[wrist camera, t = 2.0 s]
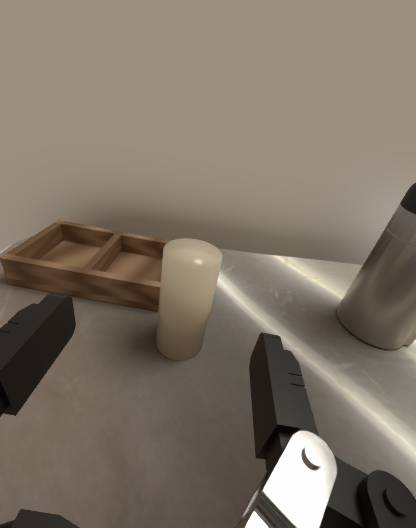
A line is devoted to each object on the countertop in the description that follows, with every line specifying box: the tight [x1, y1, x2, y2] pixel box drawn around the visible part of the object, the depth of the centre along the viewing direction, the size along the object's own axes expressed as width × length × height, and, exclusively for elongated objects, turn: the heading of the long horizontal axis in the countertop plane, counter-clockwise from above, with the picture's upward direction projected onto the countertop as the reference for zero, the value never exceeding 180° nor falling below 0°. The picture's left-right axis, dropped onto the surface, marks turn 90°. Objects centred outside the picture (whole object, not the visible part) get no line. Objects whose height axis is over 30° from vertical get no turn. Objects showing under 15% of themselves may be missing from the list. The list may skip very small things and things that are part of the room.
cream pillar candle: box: [156, 239, 222, 361], centre depth 26 cm, size 5×5×12 cm
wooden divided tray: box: [0, 220, 171, 311], centre depth 36 cm, size 20×12×4 cm, turn 86°
